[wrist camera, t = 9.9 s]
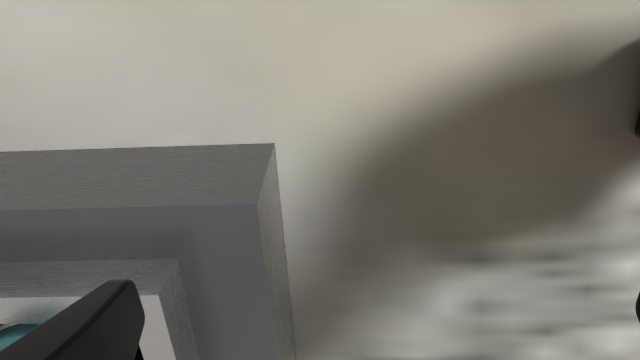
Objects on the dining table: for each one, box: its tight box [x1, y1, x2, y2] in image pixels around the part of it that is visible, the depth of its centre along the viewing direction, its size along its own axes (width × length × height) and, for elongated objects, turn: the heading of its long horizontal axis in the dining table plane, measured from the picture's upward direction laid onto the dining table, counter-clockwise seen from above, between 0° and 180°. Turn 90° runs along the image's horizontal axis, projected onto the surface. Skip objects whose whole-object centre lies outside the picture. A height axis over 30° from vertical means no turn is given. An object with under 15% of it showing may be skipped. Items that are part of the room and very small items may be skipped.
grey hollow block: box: [0, 143, 296, 360], centre depth 21 cm, size 18×14×7 cm
